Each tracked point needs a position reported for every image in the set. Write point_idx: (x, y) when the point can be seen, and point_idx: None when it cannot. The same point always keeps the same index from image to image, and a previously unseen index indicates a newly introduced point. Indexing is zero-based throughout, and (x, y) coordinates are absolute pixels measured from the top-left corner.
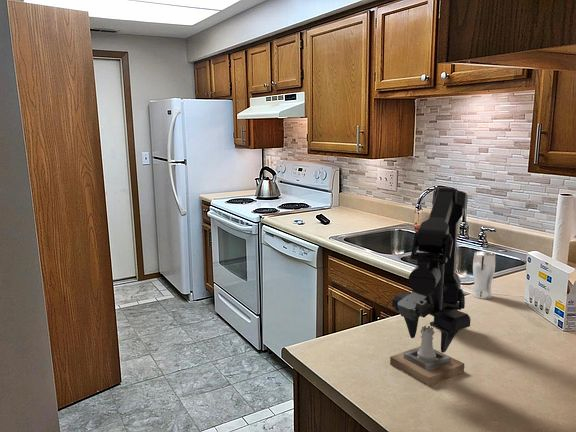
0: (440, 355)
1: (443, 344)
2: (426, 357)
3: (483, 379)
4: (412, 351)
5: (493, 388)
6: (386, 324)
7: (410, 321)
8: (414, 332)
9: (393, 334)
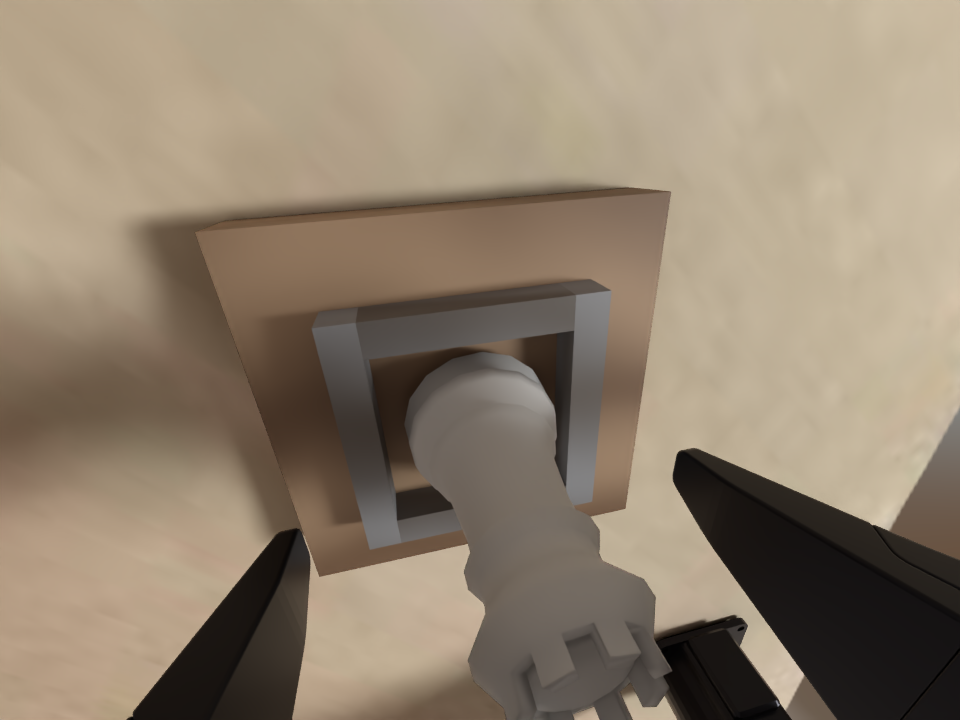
0: (433, 510)
1: (195, 642)
2: (433, 399)
3: (206, 568)
4: (588, 375)
5: (84, 563)
6: (887, 474)
7: (888, 608)
8: (710, 515)
9: (816, 448)
